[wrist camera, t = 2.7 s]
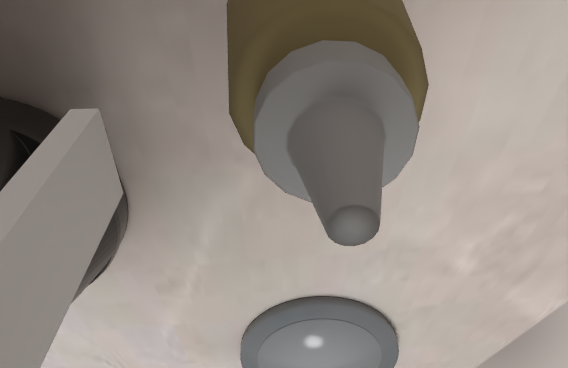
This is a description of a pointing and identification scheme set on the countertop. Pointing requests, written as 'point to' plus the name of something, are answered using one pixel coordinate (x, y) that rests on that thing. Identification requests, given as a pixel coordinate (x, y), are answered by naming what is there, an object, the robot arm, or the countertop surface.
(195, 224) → the countertop surface
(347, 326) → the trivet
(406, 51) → the squeeze bottle
